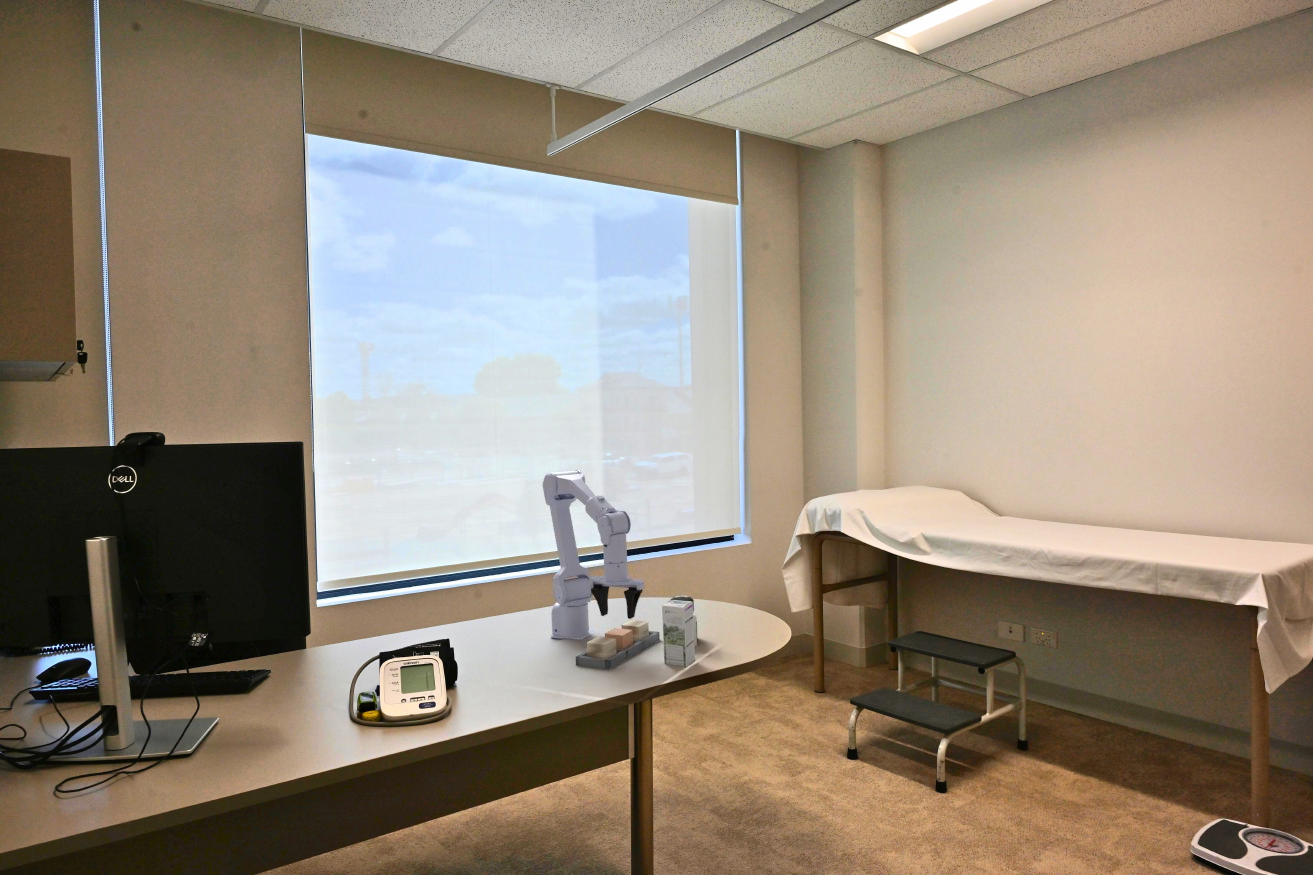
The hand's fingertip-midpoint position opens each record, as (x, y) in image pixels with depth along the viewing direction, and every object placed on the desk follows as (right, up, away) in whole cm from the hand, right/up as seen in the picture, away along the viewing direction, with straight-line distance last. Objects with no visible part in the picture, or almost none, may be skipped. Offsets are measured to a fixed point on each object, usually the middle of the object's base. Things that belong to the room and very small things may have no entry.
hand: (617, 616), depth 200 cm
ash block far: (+4, -8, +7) cm, 12 cm away
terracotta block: (0, -9, 0) cm, 9 cm away
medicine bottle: (+16, -9, +7) cm, 20 cm away
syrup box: (+15, -9, -9) cm, 20 cm away
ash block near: (-3, -9, -7) cm, 12 cm away
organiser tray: (0, -9, 0) cm, 9 cm away
